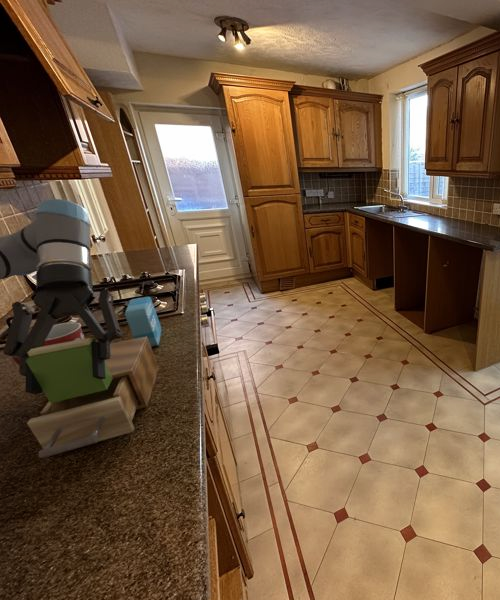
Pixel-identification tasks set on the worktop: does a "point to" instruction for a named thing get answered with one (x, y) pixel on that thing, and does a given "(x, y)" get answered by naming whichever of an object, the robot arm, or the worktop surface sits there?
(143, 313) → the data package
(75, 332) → the mug
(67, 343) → the green block
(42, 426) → the drawer
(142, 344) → the cabinet
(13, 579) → the worktop surface
